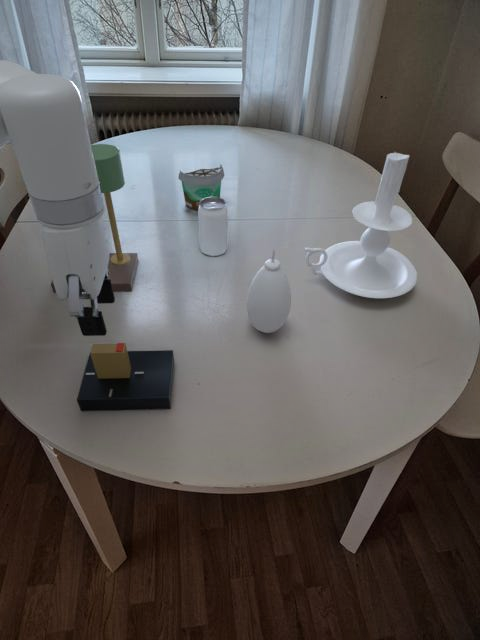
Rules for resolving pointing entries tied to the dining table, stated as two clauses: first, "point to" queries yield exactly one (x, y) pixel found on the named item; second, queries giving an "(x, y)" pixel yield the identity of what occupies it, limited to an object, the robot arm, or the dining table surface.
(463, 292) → the dining table surface
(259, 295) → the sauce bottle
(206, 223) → the can
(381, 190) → the candlestick
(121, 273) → the lamp base
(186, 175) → the food container
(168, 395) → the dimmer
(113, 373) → the yellow upright block
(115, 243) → the lamp
